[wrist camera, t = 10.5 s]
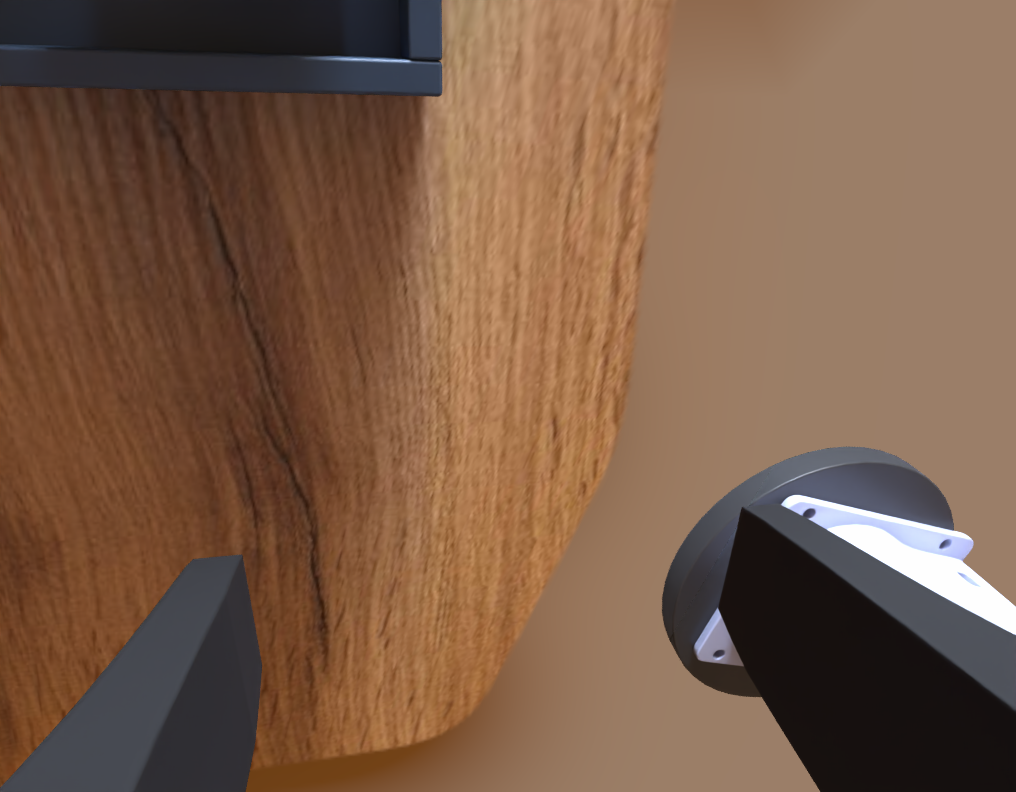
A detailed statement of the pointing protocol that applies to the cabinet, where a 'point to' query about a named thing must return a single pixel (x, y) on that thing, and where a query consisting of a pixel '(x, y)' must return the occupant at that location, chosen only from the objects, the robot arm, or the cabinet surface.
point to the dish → (225, 45)
